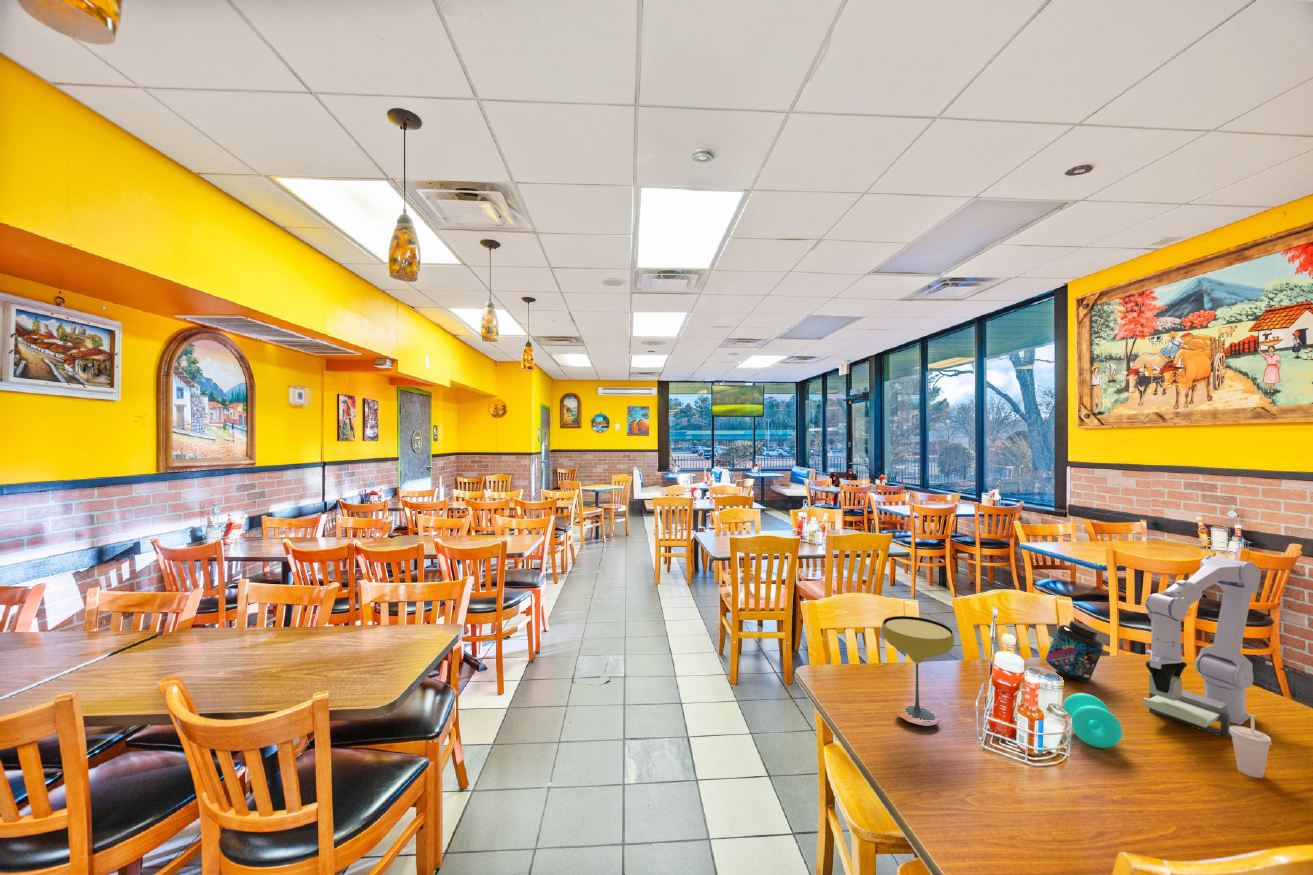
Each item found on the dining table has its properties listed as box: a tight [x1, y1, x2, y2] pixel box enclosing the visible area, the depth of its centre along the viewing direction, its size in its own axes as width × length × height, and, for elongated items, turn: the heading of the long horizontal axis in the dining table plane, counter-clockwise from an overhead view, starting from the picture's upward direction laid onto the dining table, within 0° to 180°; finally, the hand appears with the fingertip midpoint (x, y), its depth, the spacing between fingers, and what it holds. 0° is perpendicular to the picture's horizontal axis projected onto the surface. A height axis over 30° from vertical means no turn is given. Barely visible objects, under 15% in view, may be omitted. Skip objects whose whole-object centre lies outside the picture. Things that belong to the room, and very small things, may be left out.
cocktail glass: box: [881, 615, 955, 722], centre depth 141 cm, size 18×18×25 cm
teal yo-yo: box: [1062, 692, 1123, 749], centre depth 130 cm, size 10×10×10 cm
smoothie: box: [1229, 713, 1273, 779], centre depth 116 cm, size 6×6×14 cm
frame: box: [1148, 692, 1232, 739], centre depth 137 cm, size 2×15×6 cm, turn 28°
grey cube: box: [1148, 673, 1183, 701], centre depth 138 cm, size 5×5×5 cm
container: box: [1045, 620, 1104, 682], centre depth 164 cm, size 12×12×17 cm
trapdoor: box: [1142, 689, 1228, 727], centre depth 136 cm, size 16×12×4 cm
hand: (1166, 689), depth 137 cm, fingers closed on grey cube, 5 cm apart
